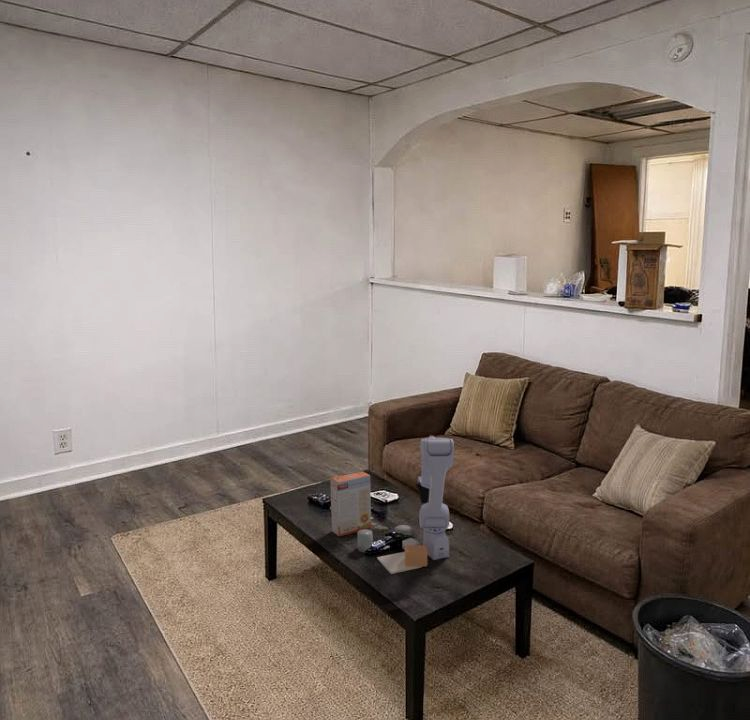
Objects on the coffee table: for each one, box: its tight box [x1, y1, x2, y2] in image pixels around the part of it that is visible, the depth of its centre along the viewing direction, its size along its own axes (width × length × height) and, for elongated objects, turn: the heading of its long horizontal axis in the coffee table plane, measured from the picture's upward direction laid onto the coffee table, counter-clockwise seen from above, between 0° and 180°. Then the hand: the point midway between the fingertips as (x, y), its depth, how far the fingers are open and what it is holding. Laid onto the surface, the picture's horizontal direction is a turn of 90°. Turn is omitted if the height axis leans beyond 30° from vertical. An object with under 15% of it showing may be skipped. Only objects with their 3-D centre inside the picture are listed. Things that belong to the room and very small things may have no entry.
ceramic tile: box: [376, 551, 423, 575], centre depth 207 cm, size 11×11×1 cm
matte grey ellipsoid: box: [394, 524, 412, 536], centre depth 228 cm, size 6×6×2 cm
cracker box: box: [330, 471, 372, 538], centre depth 230 cm, size 14×6×21 cm, turn 122°
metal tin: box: [401, 537, 421, 551], centre depth 216 cm, size 5×4×3 cm
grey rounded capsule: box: [356, 529, 373, 553], centre depth 217 cm, size 5×5×6 cm
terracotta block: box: [404, 544, 428, 567], centre depth 205 cm, size 5×5×7 cm
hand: (428, 506), depth 230 cm, fingers open, 7 cm apart
